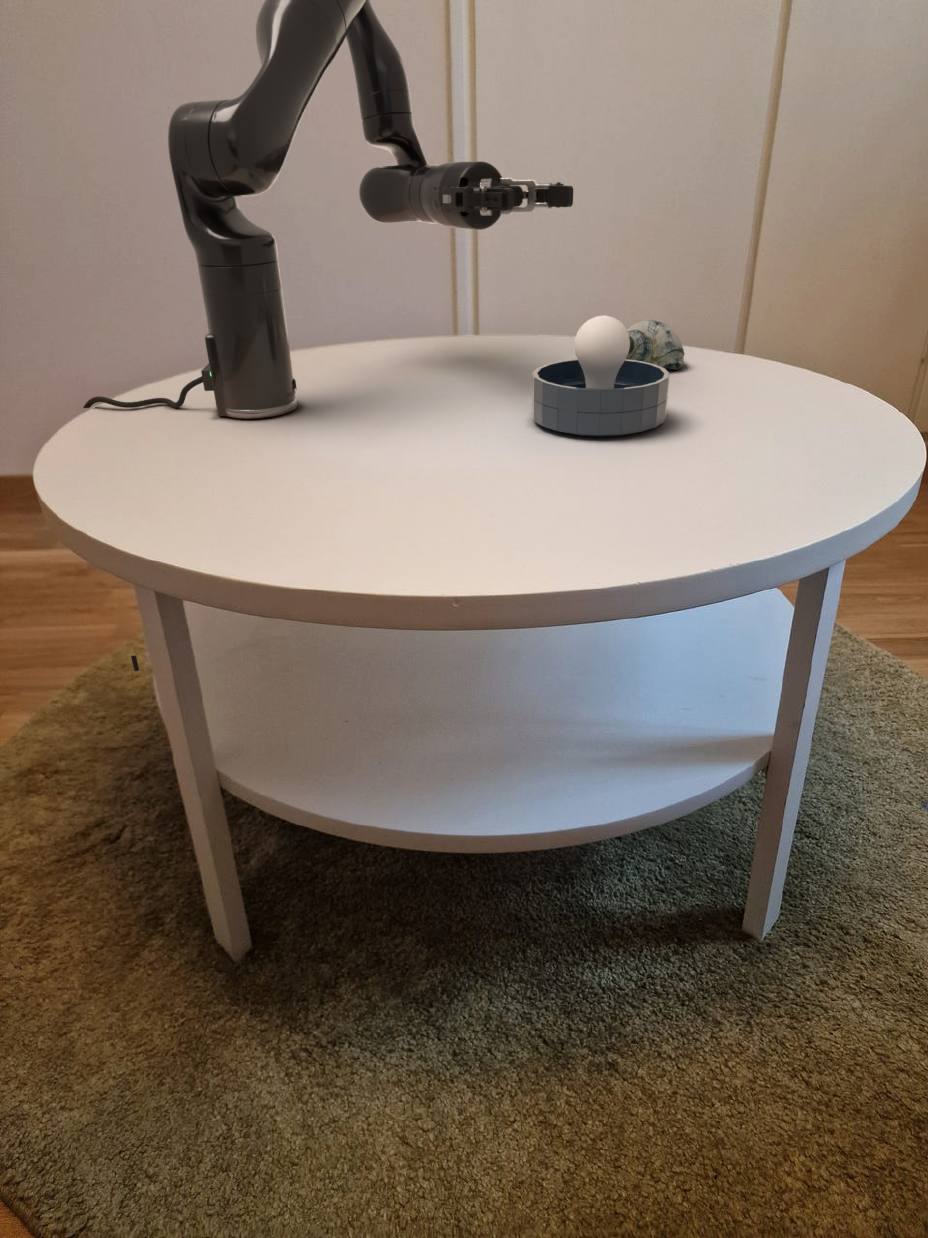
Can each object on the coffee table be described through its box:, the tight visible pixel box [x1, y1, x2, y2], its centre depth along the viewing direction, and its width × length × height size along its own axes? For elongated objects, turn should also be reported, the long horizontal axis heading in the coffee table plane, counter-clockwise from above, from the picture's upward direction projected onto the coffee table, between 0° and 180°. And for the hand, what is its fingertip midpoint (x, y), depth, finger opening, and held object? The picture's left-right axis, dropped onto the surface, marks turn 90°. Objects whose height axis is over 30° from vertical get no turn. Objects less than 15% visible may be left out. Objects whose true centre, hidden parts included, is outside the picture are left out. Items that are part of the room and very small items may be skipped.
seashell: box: [626, 319, 686, 371], centre depth 119 cm, size 6×8×12 cm
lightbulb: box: [573, 315, 630, 389], centre depth 96 cm, size 6×6×11 cm
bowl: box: [531, 358, 671, 438], centre depth 97 cm, size 15×15×6 cm
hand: (541, 197), depth 96 cm, fingers open, 8 cm apart
